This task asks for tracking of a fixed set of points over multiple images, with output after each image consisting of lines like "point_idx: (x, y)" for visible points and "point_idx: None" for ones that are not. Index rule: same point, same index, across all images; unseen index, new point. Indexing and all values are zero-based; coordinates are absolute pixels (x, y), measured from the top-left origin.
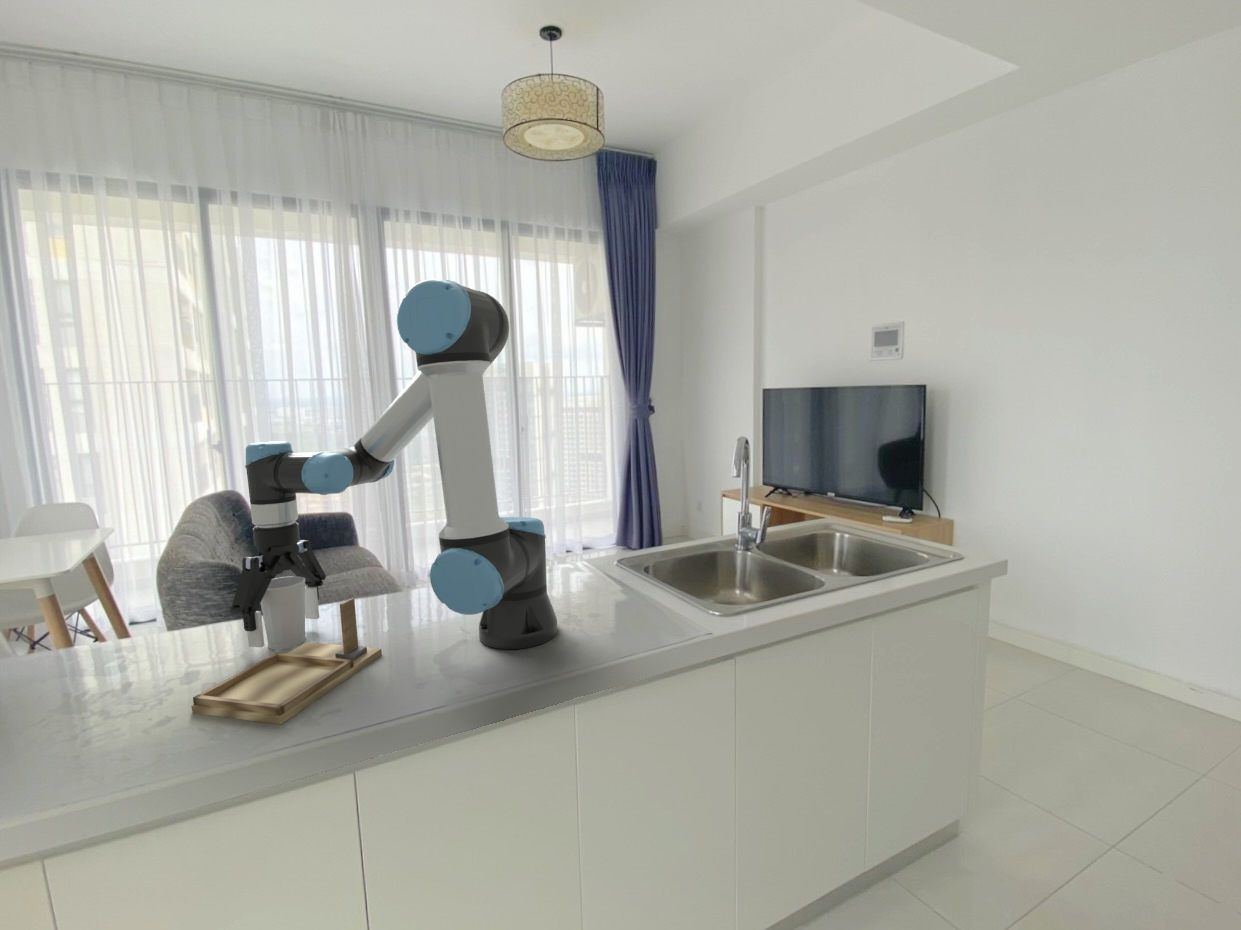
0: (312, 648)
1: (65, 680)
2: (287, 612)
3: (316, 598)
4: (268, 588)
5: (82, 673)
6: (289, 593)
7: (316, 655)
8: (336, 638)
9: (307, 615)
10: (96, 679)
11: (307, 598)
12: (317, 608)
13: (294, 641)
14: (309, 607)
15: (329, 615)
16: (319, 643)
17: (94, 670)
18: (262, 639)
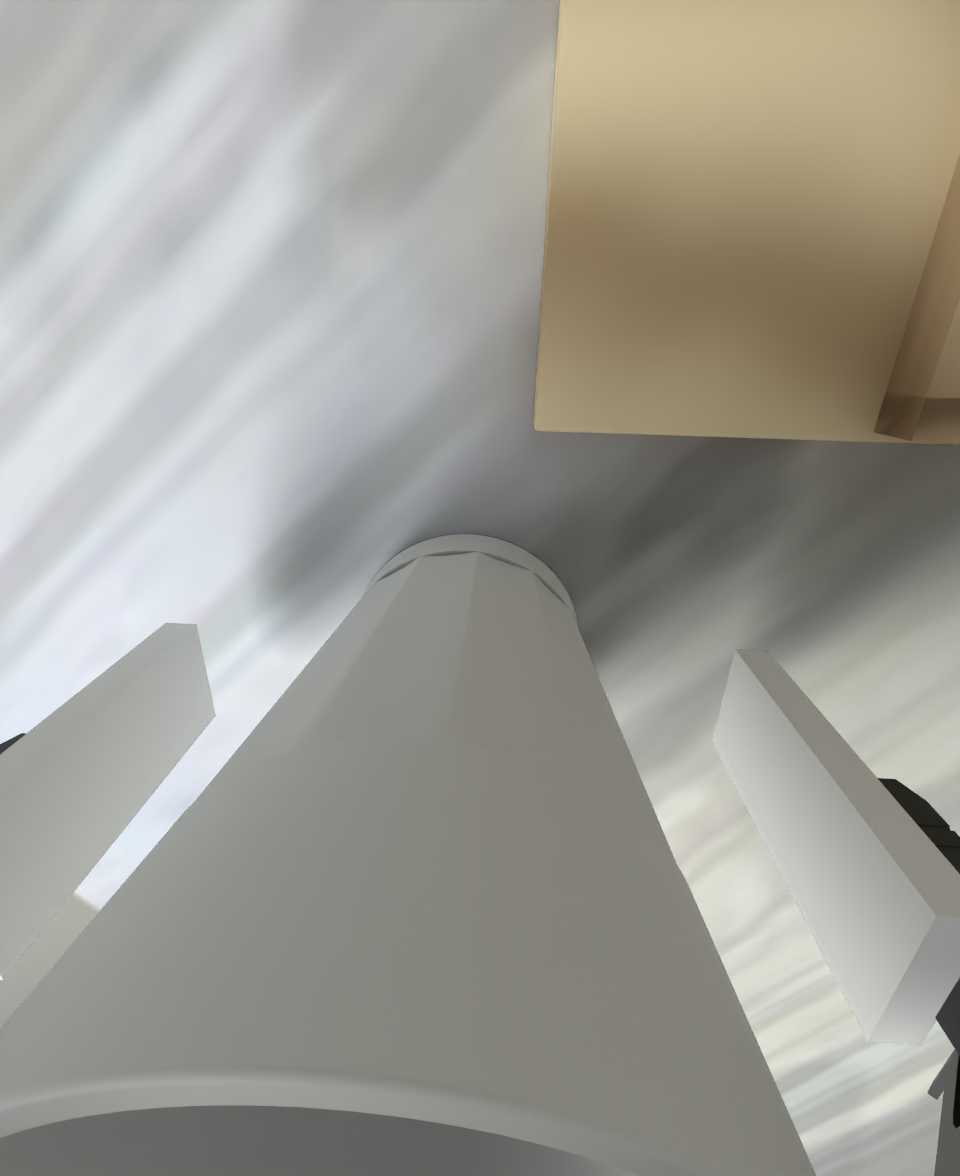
0: (660, 266)
1: (887, 1146)
2: (579, 713)
3: (41, 736)
4: None
5: (831, 1142)
6: (606, 931)
7: (836, 64)
8: (320, 314)
9: (197, 714)
10: (895, 1086)
11: (92, 817)
12: (121, 669)
13: (516, 557)
14: (150, 738)
15: (21, 677)
16: (551, 281)
17: (808, 1130)
18: (772, 681)
